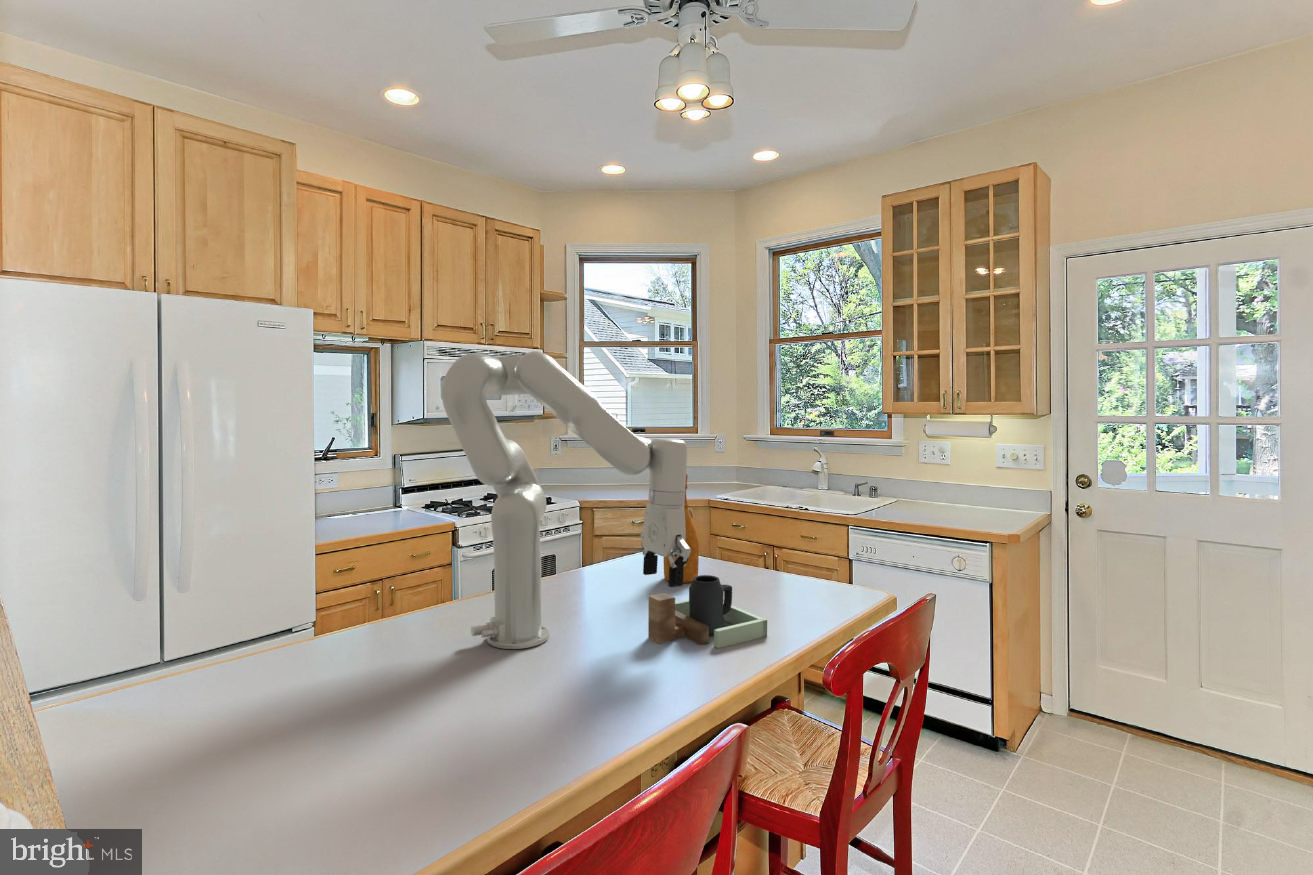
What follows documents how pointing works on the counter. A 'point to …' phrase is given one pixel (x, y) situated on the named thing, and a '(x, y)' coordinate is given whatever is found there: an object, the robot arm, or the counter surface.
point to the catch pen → (743, 629)
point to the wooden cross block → (672, 622)
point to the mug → (709, 601)
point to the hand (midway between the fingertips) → (662, 579)
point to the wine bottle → (691, 541)
